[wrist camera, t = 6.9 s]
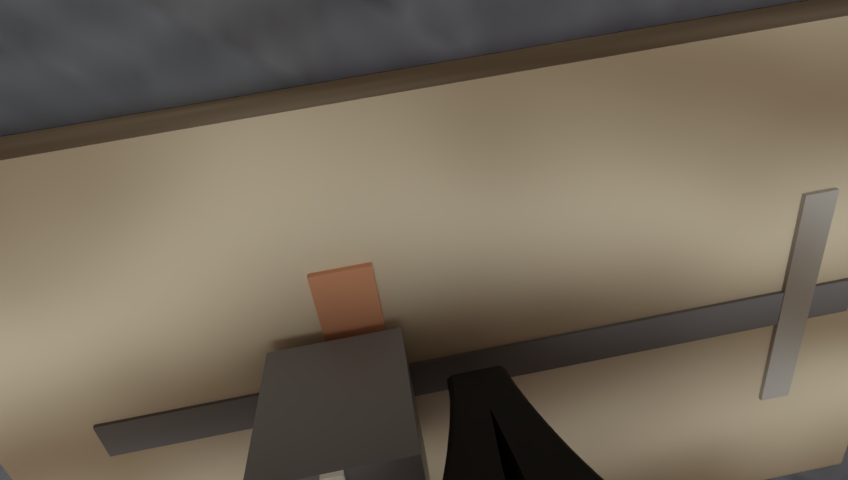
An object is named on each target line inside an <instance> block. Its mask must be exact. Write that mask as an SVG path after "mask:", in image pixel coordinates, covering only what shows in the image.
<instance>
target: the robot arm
mask: <svg viewBox="0 0 848 480" xmlns="http://www.w3.org/2000/svg"><path fill="white" fill-rule="evenodd" d="M447 384H448V391H449V397H450V422H449V435H448V445H447V455H446V462H445V468H444V474H443V480H604V479H603V478H602V477H601V476H599V475H598V474H597V473H596V472H595V471H594V470H593V469H592V468H591V467H590V466H589V465H588V464H587V463H586V462H584V461H583V460H582V459H581V458H580V457H579V456H578V455H577V454H576V453H575V452H574V451H573V450H572V449H571V448H570V447H569V446H568V445H567V444H566V443H565V441H564V440H563V439H562V438H561V437H560V436H559V435H558V434H557V433H556V432H555V431H554V430H553V429H552V427H551V426H550V425H549V424H548V423H547V422H546V421H545V420H544V419H543V417H542V416H541V415H540V414H539V413H538V412H537V410H536V409H535V408H534V407H533V406H532V404H531V403H530V402H529V401H528V400H527V398H526V397H525V396H524V395H523V393H522V392H521V391H520V389H519V388H518V387H517V385H516V384H515V383H514V381H513V380H512V378H511V377H510V375H509V374H508V372H507V371H506V369H505V368H504V367H502V366H500V365H499V366H494V367H489V368H484V369H479V370H474V371H469V372H464V373H458V374H453V375H451V376H450V377H449V378H448V379H447Z"/></svg>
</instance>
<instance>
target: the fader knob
mask: <svg viewBox="0 0 848 480" xmlns="http://www.w3.org/2000/svg"><path fill="white" fill-rule="evenodd" d="M243 480H430V475H429V469H428V463H427V457H426V451H425V446H424V441H423V436H422V430H421V425H420V420H419V415H418V410H417V405H416V400H415V395H414V390H413V385H412V380H411V375H410V370H409V365H408V360H407V355H406V350H405V344H404V339H403V334H402V329H401V327H400V328H394V329H389V330H384V331H379V332H374V333H368V334H363V335H358V336H353V337H347V338H342V339H337V340H332V341H327V342H321V343H316V344H311V345H306V346H301V347H295V348H290V349H285V350H280V351H274V352H269V353H267V354H266V359H265V365H264V370H263V376H262V381H261V386H260V392H259V397H258V403H257V408H256V413H255V419H254V424H253V430H252V435H251V440H250V446H249V451H248V457H247V462H246V467H245V473H244V478H243Z"/></svg>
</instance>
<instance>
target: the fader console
mask: <svg viewBox="0 0 848 480" xmlns="http://www.w3.org/2000/svg"><path fill="white" fill-rule="evenodd" d="M400 327H401V329H402V334H403V339H404V344H405V350H406V355H407V360H408V365H409V370H410V375H411V380H412V385H413V390H414V395H415V400H416V405H417V410H418V415H419V420H420V425H421V430H422V436H423V441H424V446H425V451H426V457H427V463H428V469H429V475H430V480H443V474H444V468H445V462H446V455H447V445H448V435H449V422H450V397H449V391H448V384H447V379H448V378H449V377H450V376H451V375H453V374H458V373H464V372H469V371H474V370H479V369H484V368H489V367H494V366H499V365H500V366H502V367H504V368H505V369H506V371H507V372H508V374H509V375H510V377H511V378H512V380H513V381H514V383H515V384H516V385H517V387H518V388H519V389H520V391H521V392H522V393H523V395H524V396H525V397H526V398H527V400H528V401H529V402H530V403H531V404H532V406H533V407H534V408H535V409H536V410H537V412H538V413H539V414H540V415H541V416H542V417H543V419H544V420H545V421H546V422H547V423H548V424H549V425H550V426H551V427H552V429H553V430H554V431H555V432H556V433H557V434H558V435H559V436H560V437H561V438H562V439H563V440H564V441H565V443H566V444H567V445H568V446H569V447H570V448H571V449H572V450H573V451H574V452H575V453H576V454H577V455H578V456H579V457H580V458H581V459H582V460H583V461H584V462H586V463H587V464H588V465H589V466H590V467H591V468H592V469H593V470H594V471H595V472H596V473H597V474H598V475H599V476H601V477H602V478H603V479H604V480H765V479H770V478H775V477H779V476H784V475H789V474H793V473H798V472H803V471H808V470H812V469H817V468H822V467H826V466H831V465H836V464H841V463H842V460H843V457H844V454H845V451H846V448H847V445H848V0H807V1H801V2H796V3H790V4H784V5H778V6H772V7H766V8H760V9H754V10H748V11H742V12H736V13H730V14H725V15H719V16H713V17H707V18H701V19H695V20H689V21H683V22H677V23H671V24H665V25H659V26H654V27H648V28H642V29H636V30H630V31H624V32H618V33H612V34H606V35H600V36H594V37H588V38H582V39H577V40H571V41H565V42H559V43H553V44H547V45H541V46H535V47H529V48H523V49H517V50H511V51H506V52H500V53H494V54H488V55H482V56H476V57H470V58H464V59H458V60H452V61H446V62H440V63H435V64H429V65H423V66H417V67H411V68H405V69H399V70H393V71H387V72H381V73H375V74H369V75H363V76H358V77H352V78H346V79H340V80H334V81H328V82H322V83H316V84H310V85H304V86H298V87H292V88H287V89H281V90H275V91H269V92H263V93H257V94H251V95H245V96H239V97H233V98H227V99H221V100H216V101H210V102H204V103H198V104H192V105H186V106H180V107H174V108H168V109H162V110H156V111H150V112H144V113H139V114H133V115H127V116H121V117H115V118H109V119H103V120H97V121H91V122H85V123H79V124H73V125H68V126H62V127H56V128H50V129H44V130H38V131H32V132H26V133H20V134H14V135H8V136H2V137H0V464H1V465H2V467H3V468H4V469H5V471H6V472H7V473H8V475H9V476H10V477H11V479H12V480H243V478H244V473H245V467H246V462H247V457H248V451H249V446H250V440H251V435H252V430H253V424H254V419H255V413H256V408H257V403H258V397H259V392H260V386H261V381H262V376H263V370H264V365H265V359H266V354H267V353H269V352H274V351H280V350H285V349H290V348H295V347H301V346H306V345H311V344H316V343H321V342H327V341H332V340H337V339H342V338H347V337H353V336H358V335H363V334H368V333H374V332H379V331H384V330H389V329H394V328H400Z"/></svg>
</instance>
